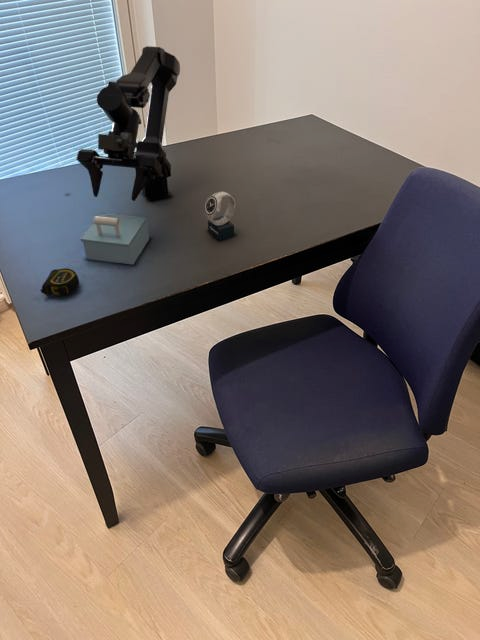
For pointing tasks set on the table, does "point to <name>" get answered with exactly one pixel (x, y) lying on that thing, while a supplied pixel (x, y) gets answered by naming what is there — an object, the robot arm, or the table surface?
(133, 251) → the compartment
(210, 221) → the watch
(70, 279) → the tape measure
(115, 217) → the compartment lid
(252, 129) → the table surface
